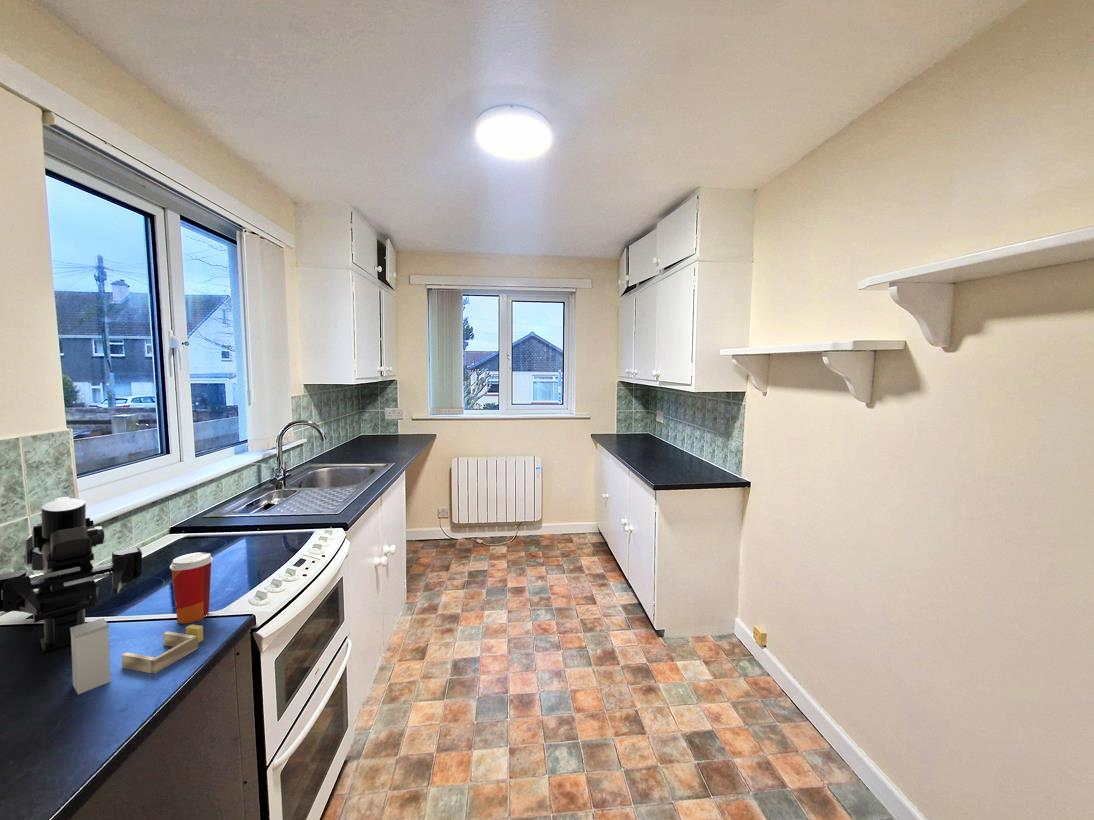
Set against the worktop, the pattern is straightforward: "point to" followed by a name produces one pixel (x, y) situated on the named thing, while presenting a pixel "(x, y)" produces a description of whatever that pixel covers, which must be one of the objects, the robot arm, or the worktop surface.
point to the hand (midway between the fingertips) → (79, 601)
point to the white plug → (90, 655)
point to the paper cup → (191, 586)
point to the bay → (154, 664)
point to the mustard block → (195, 631)
